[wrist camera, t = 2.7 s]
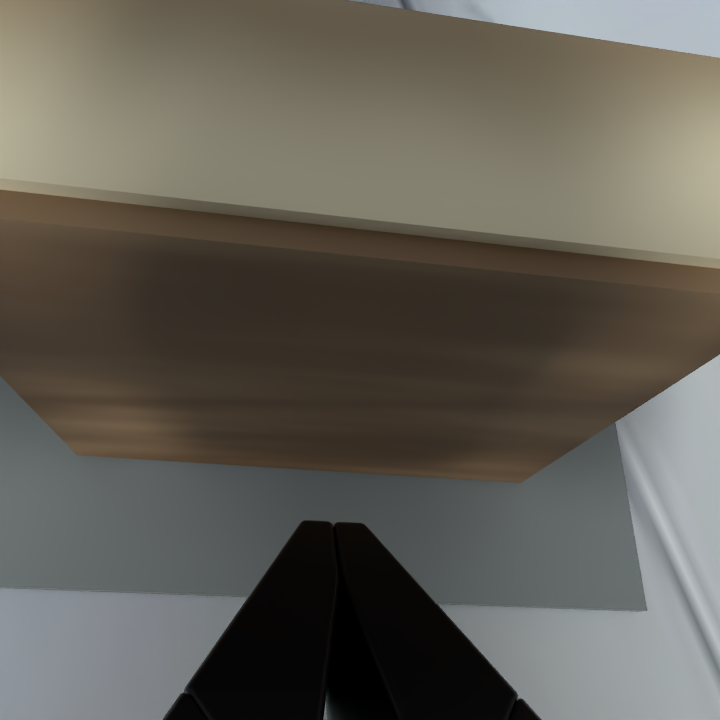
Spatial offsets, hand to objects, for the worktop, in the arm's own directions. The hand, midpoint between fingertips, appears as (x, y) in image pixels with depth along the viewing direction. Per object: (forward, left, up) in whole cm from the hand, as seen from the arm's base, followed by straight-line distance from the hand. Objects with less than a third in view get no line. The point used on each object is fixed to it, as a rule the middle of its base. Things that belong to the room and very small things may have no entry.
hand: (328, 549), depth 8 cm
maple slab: (+4, -4, -7) cm, 9 cm away
